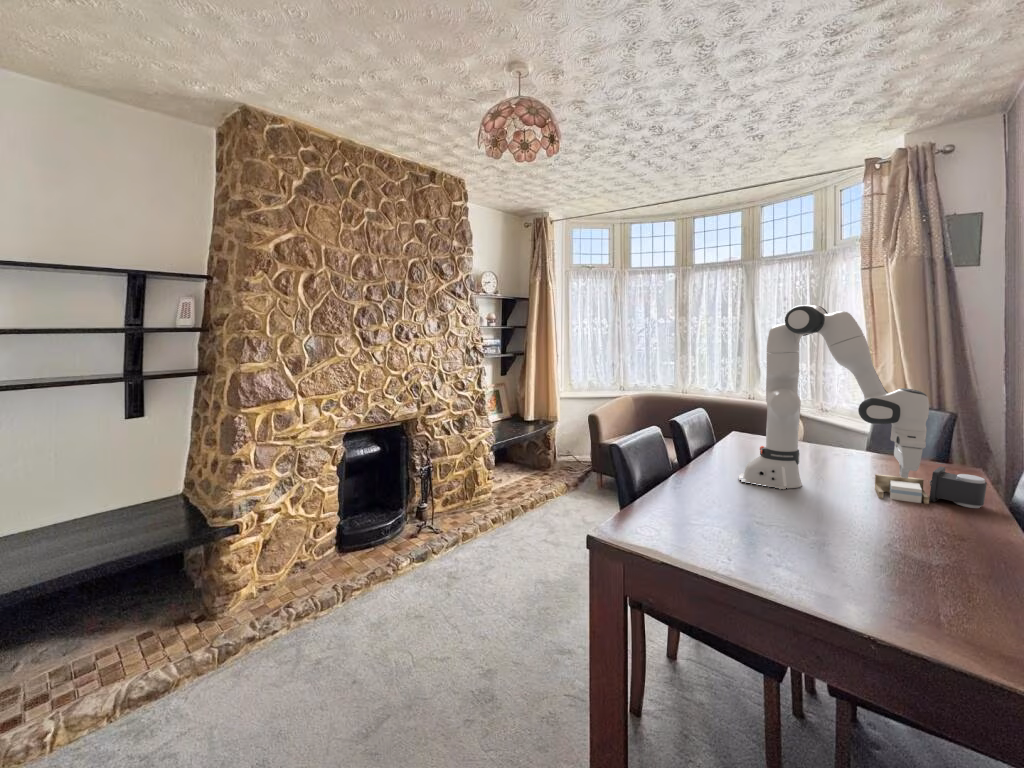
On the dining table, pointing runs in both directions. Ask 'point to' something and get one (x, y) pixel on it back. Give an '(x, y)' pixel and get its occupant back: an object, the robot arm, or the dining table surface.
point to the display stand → (884, 480)
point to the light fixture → (958, 488)
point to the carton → (905, 491)
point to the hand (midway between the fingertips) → (903, 476)
